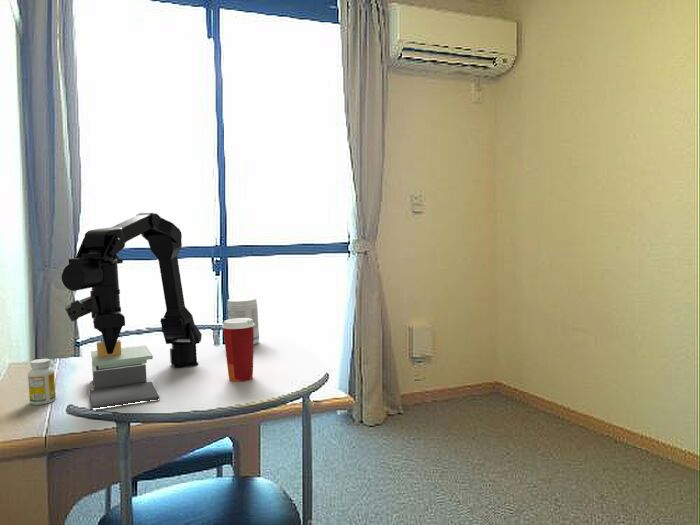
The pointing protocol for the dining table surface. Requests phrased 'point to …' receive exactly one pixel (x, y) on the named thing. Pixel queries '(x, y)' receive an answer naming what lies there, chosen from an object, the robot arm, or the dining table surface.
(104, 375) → the tub
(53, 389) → the supplement bottle
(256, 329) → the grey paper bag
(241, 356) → the coffee cup
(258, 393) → the dining table surface
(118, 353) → the lid
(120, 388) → the mat
